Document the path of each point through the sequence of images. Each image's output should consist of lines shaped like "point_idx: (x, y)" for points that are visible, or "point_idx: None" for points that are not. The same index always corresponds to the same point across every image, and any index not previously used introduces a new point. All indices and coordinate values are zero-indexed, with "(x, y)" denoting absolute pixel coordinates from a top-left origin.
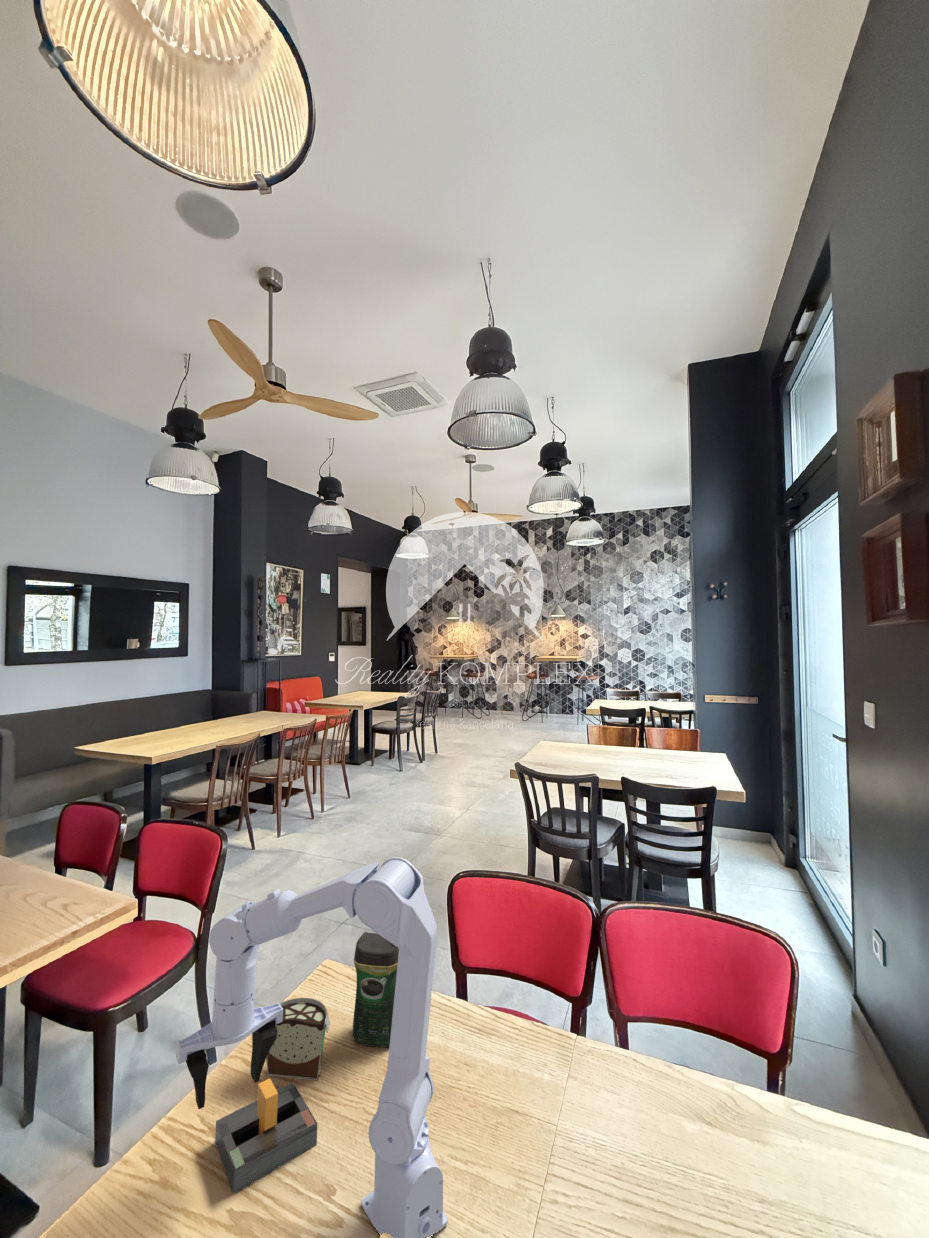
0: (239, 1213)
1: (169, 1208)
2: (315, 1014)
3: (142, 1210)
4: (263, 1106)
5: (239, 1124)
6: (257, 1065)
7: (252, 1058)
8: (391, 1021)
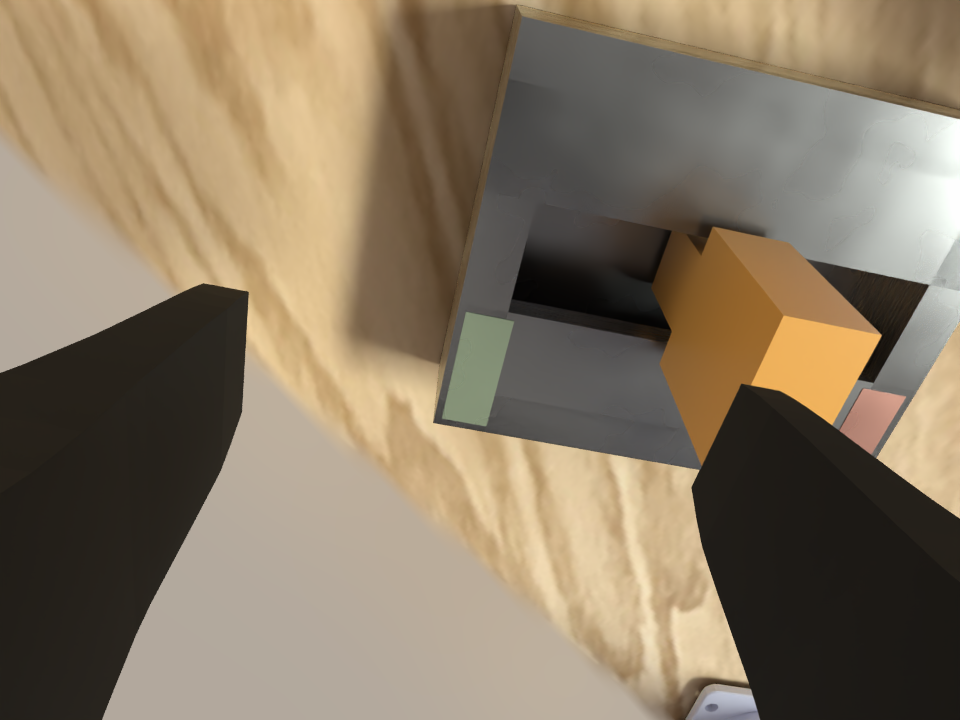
0: (420, 443)
1: (198, 207)
2: None
3: (84, 110)
4: (701, 397)
5: (608, 180)
6: (744, 639)
7: (809, 494)
8: None
